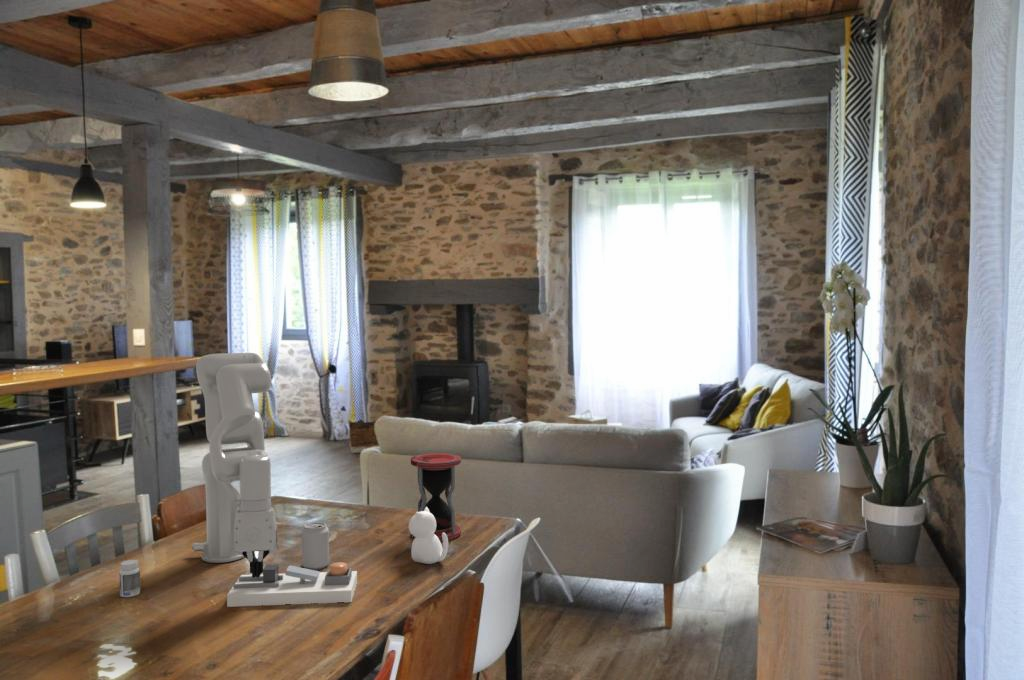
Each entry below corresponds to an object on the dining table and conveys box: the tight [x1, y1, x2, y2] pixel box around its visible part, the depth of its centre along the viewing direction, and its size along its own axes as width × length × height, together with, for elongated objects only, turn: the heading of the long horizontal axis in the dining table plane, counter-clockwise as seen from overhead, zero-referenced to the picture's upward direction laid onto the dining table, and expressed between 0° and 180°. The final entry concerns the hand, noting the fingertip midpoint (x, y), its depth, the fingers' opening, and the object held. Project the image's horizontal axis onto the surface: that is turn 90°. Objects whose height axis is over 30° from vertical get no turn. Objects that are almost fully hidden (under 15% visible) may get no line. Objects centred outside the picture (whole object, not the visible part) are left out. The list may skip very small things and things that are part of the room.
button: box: [329, 561, 348, 576], centre depth 198 cm, size 4×4×2 cm
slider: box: [262, 563, 280, 583], centre depth 196 cm, size 3×4×4 cm
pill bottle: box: [118, 559, 141, 598], centre depth 197 cm, size 5×5×8 cm
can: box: [301, 521, 330, 571], centre depth 218 cm, size 8×8×12 cm
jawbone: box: [329, 530, 340, 543], centre depth 243 cm, size 9×20×2 cm, turn 18°
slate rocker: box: [284, 565, 321, 581], centre depth 197 cm, size 8×4×1 cm, turn 96°
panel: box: [226, 567, 358, 608], centre depth 197 cm, size 30×14×5 cm, turn 96°
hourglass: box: [410, 452, 462, 542], centre depth 248 cm, size 16×16×25 cm
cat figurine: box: [408, 507, 449, 565], centre depth 222 cm, size 9×12×15 cm
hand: (256, 575), depth 196 cm, fingers closed
